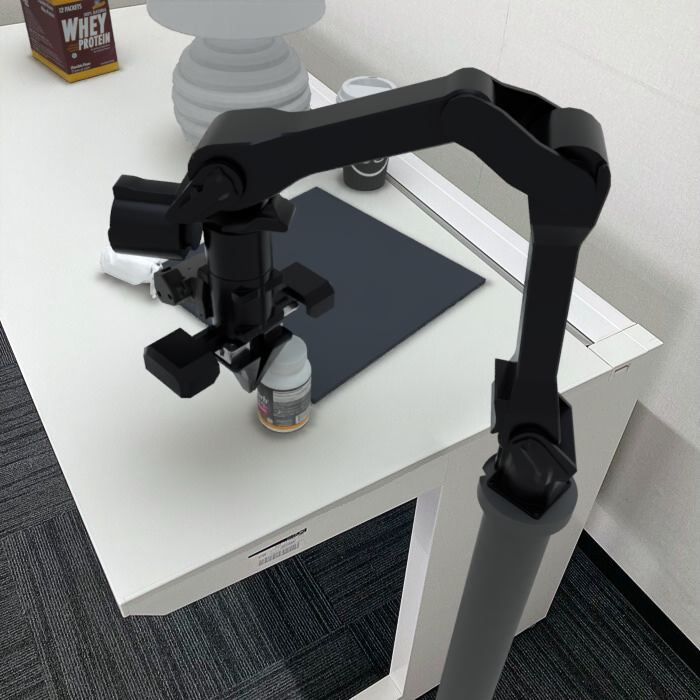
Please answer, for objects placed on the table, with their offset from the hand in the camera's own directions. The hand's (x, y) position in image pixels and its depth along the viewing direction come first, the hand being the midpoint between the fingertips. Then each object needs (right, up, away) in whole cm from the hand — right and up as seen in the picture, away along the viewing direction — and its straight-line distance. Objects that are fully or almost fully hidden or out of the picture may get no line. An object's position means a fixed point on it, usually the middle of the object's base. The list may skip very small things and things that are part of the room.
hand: (249, 389), depth 79 cm
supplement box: (-42, +59, +73) cm, 103 cm away
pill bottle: (+3, -3, +8) cm, 9 cm away
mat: (+5, +13, +26) cm, 30 cm away
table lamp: (-7, +36, +50) cm, 62 cm away
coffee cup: (+12, +30, +45) cm, 56 cm away
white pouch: (-18, +13, +24) cm, 33 cm away
